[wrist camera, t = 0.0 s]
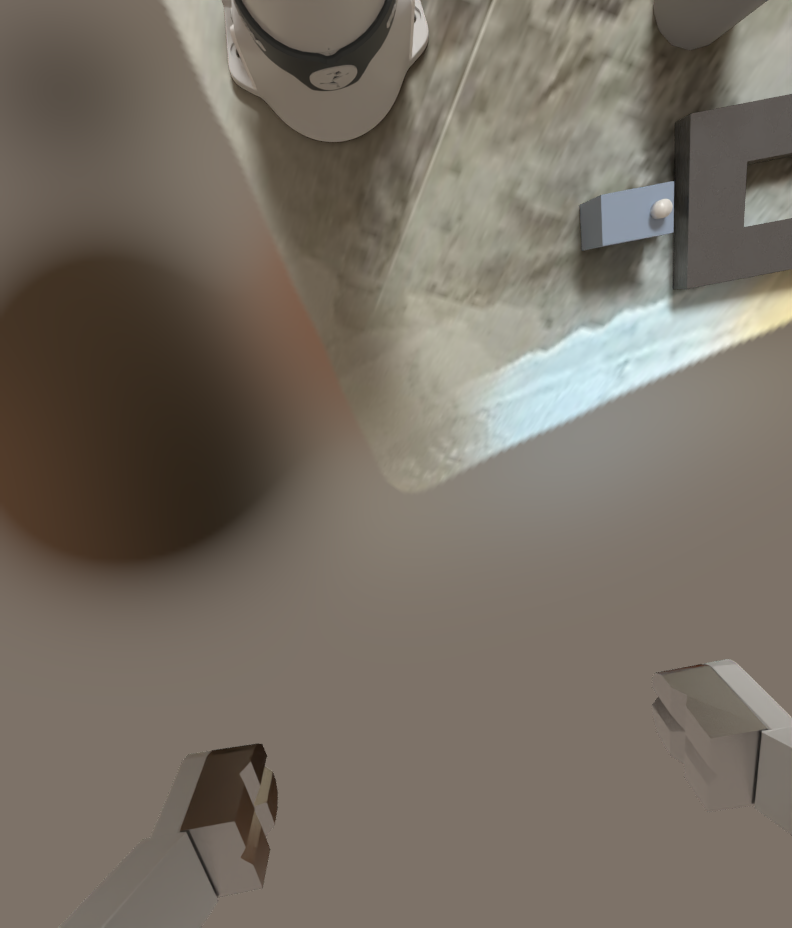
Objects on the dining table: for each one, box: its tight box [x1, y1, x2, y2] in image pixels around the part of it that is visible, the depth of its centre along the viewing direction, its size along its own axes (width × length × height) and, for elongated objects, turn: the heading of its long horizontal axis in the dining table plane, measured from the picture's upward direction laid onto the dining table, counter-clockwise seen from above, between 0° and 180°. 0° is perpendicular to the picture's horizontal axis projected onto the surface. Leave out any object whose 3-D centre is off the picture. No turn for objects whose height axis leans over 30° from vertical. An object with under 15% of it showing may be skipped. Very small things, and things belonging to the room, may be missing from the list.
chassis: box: [673, 94, 792, 289], centre depth 50 cm, size 16×20×2 cm
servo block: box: [580, 181, 674, 251], centre depth 48 cm, size 4×8×6 cm, turn 100°
